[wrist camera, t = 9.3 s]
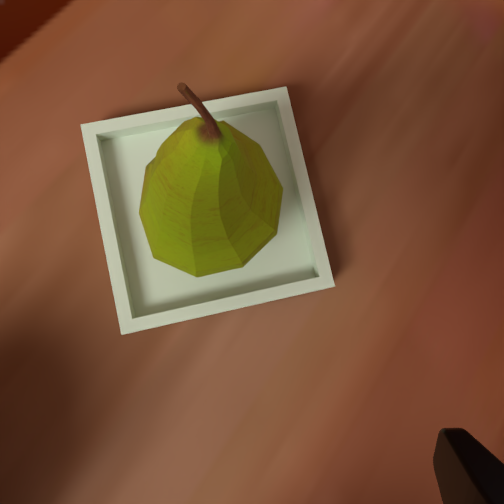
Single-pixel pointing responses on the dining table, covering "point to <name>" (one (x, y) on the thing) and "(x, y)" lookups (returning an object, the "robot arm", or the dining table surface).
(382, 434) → the dining table surface
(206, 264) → the fruit
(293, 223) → the tray
